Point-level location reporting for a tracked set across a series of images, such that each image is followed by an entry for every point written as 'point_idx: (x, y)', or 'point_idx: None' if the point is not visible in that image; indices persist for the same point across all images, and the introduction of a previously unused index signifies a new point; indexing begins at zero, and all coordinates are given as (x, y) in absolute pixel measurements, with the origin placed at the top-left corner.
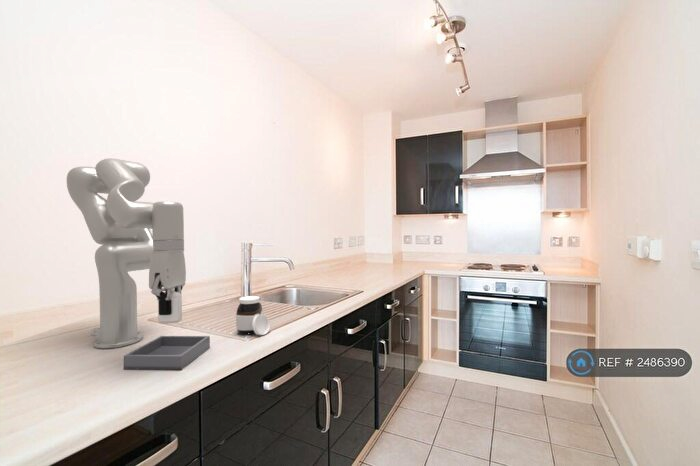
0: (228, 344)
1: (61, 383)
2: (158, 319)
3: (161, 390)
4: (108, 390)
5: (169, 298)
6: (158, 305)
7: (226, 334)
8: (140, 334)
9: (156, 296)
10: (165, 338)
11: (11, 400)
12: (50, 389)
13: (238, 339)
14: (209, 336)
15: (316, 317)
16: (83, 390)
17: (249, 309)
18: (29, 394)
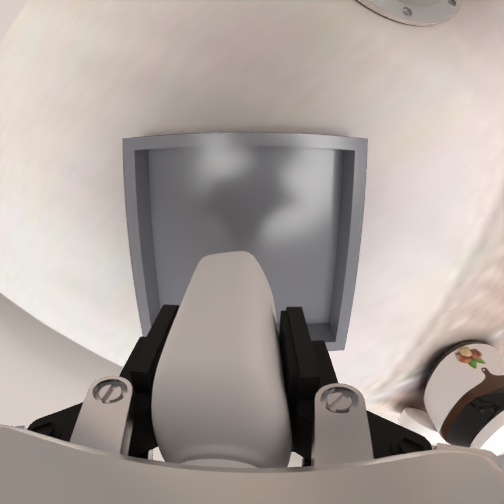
0: (356, 364)
1: (65, 43)
2: (198, 264)
3: (65, 326)
4: (39, 204)
5: (150, 451)
6: (175, 317)
7: (448, 317)
8: (441, 12)
9: (48, 417)
10: (352, 167)
11: (11, 32)
12: (41, 53)
13: (394, 371)
14: (342, 349)
15: None
16: (34, 140)
17: (454, 439)
18: (27, 36)
